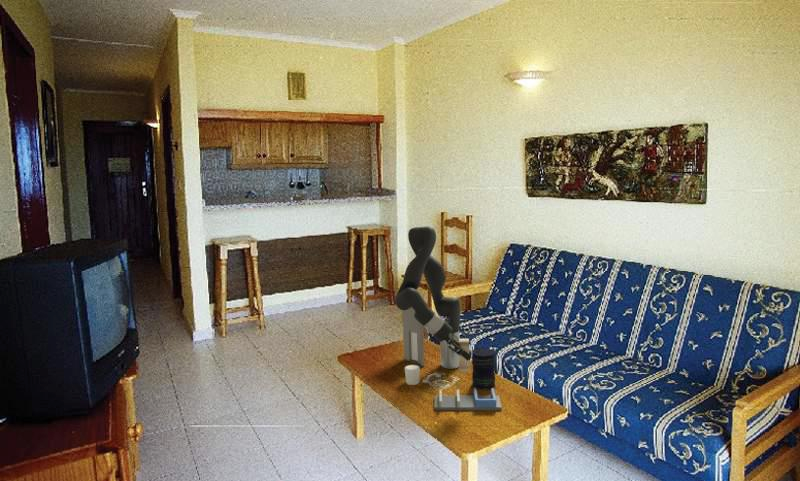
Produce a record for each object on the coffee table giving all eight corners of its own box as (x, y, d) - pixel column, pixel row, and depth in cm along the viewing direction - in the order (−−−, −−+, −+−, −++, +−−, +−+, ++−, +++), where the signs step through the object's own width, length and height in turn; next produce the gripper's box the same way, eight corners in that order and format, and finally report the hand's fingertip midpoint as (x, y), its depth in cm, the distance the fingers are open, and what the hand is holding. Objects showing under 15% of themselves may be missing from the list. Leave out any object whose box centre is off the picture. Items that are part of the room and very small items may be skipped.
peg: (459, 367, 213) (458, 338, 211) (469, 367, 212) (468, 338, 211) (459, 371, 209) (458, 342, 207) (469, 371, 209) (469, 341, 207)
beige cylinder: (422, 380, 238) (421, 365, 237) (417, 386, 232) (417, 370, 231) (407, 378, 240) (407, 363, 240) (402, 384, 234) (402, 369, 233)
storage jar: (500, 386, 229) (499, 345, 226) (481, 391, 224) (481, 350, 222) (485, 378, 237) (485, 339, 235) (467, 383, 233) (466, 343, 230)
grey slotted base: (434, 398, 219) (434, 388, 218) (498, 398, 217) (498, 388, 216) (434, 410, 208) (434, 400, 208) (501, 410, 206) (501, 399, 205)
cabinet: (424, 366, 254) (422, 309, 251) (404, 367, 255) (401, 310, 251) (422, 351, 275) (421, 298, 271) (404, 352, 275) (402, 299, 272)
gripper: (444, 326, 202) (476, 356, 202) (444, 315, 216) (475, 344, 216) (430, 339, 203) (463, 370, 203) (431, 328, 217) (462, 356, 217)
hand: (469, 356), depth 210 cm, fingers closed on peg, 4 cm apart
